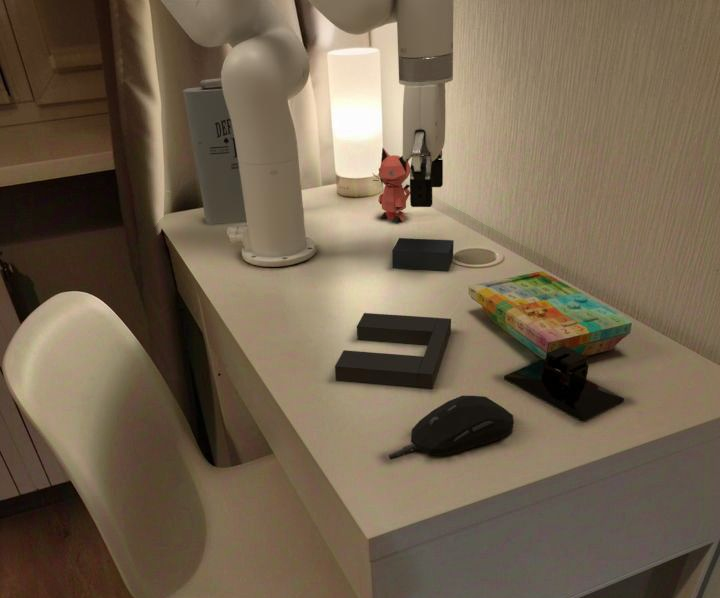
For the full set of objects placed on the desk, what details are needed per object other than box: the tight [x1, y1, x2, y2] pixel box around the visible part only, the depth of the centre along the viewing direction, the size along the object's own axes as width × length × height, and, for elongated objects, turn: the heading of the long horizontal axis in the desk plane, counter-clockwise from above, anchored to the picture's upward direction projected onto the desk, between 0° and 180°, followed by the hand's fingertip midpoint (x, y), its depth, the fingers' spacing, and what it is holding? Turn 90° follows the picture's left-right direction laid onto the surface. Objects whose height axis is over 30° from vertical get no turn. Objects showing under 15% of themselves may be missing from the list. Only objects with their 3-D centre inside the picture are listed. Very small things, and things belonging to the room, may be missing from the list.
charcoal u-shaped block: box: [334, 312, 452, 389], centre depth 93 cm, size 15×12×2 cm
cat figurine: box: [372, 147, 411, 224], centre depth 131 cm, size 7×7×12 cm
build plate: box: [503, 346, 625, 423], centre depth 84 cm, size 12×7×5 cm, turn 35°
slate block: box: [391, 237, 455, 272], centre depth 116 cm, size 6×9×3 cm, turn 76°
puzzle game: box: [468, 270, 633, 360], centre depth 95 cm, size 12×5×20 cm
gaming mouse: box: [388, 395, 515, 459], centre depth 77 cm, size 6×15×4 cm, turn 116°
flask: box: [182, 71, 247, 225], centre depth 132 cm, size 17×5×25 cm, turn 103°
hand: (427, 196), depth 111 cm, fingers open, 9 cm apart
